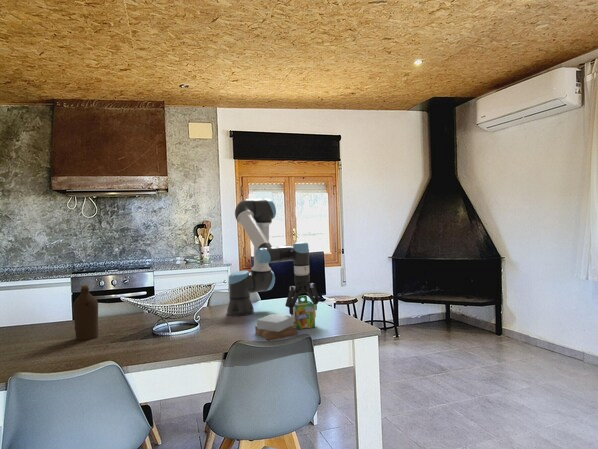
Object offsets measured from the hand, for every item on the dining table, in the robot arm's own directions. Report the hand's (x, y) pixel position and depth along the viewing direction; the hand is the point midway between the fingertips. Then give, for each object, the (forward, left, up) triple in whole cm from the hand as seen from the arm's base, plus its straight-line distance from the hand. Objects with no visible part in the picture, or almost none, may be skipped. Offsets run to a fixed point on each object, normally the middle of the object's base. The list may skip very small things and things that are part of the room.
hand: (303, 319), depth 195 cm
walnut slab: (+3, -17, -4) cm, 18 cm away
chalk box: (0, 0, -4) cm, 4 cm away
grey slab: (+3, -17, 0) cm, 17 cm away
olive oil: (-49, -91, -4) cm, 103 cm away
